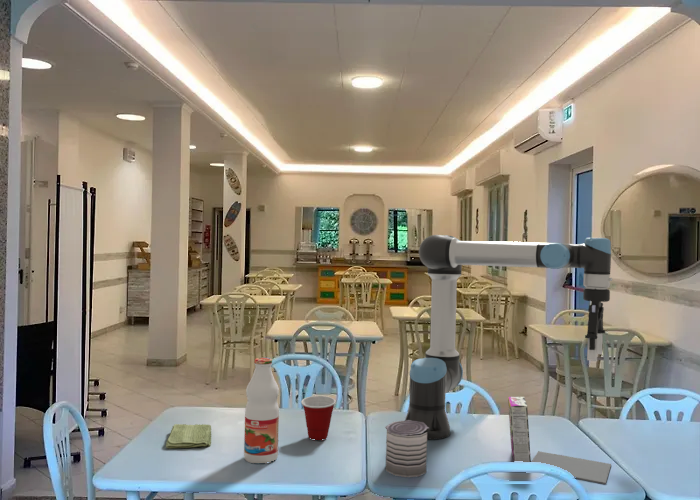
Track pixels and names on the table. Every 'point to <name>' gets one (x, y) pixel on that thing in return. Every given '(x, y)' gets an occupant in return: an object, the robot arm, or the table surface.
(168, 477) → the table surface
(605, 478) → the mat
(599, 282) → the robot arm
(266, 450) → the fruit juice
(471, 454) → the table surface
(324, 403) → the plastic cup
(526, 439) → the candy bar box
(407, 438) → the can
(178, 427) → the washcloth
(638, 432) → the table surface
